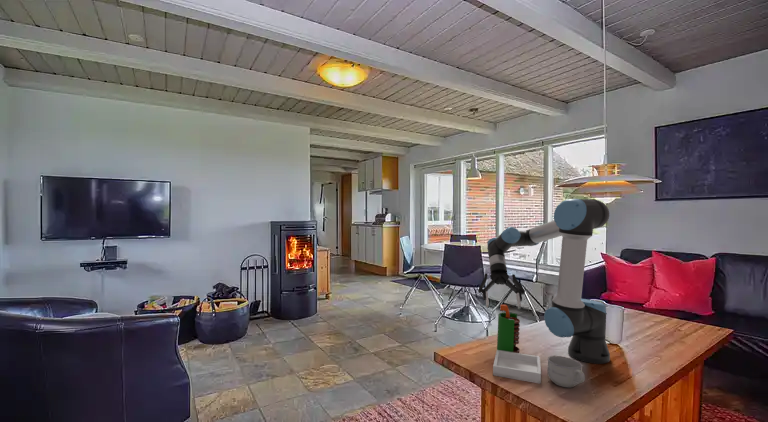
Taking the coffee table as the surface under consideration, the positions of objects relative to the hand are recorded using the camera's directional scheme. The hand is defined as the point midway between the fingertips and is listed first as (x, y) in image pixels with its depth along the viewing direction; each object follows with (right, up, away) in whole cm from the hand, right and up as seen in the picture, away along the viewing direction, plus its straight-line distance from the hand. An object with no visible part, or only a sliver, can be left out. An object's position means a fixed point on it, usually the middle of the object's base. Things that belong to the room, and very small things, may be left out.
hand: (503, 306), depth 163 cm
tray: (-2, -18, -23) cm, 29 cm away
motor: (0, -18, -7) cm, 19 cm away
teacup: (+11, -19, -35) cm, 41 cm away
